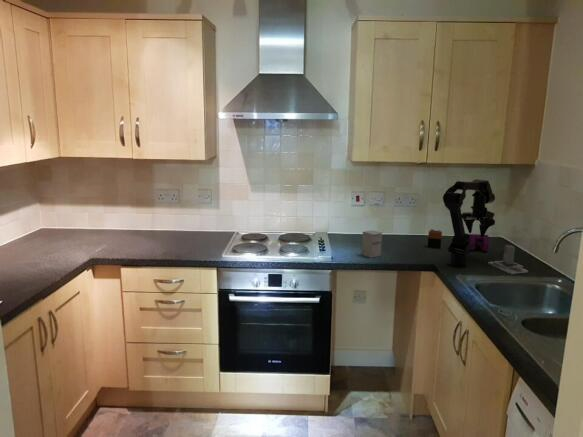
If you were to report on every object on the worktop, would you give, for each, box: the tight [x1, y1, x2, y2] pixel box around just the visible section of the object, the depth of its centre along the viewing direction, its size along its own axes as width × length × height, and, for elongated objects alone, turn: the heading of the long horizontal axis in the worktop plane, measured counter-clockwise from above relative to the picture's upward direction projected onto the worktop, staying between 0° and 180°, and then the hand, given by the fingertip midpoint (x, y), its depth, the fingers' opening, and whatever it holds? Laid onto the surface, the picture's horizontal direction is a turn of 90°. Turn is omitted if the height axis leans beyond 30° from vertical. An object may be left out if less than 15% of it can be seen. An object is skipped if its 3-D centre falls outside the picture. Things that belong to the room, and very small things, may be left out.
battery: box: [427, 229, 443, 250], centre depth 260 cm, size 4×7×10 cm, turn 67°
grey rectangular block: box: [502, 244, 516, 267], centre depth 224 cm, size 4×4×10 cm
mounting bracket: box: [469, 233, 490, 252], centre depth 260 cm, size 9×8×18 cm
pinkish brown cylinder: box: [361, 229, 383, 259], centre depth 242 cm, size 7×7×13 cm
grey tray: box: [487, 260, 529, 275], centre depth 225 cm, size 9×17×2 cm, turn 17°
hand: (476, 235), depth 235 cm, fingers open, 9 cm apart
